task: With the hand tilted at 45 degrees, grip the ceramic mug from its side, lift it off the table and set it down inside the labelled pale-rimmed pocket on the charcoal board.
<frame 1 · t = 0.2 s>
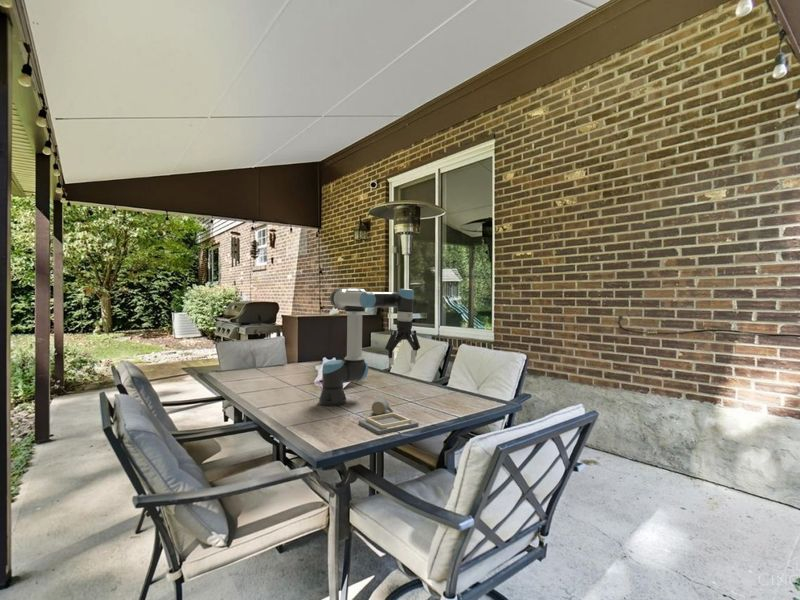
hand: (402, 364, 207), 28 cm above the table, tool pointing down, fingers open, 13 cm apart
ceramic mug: (382, 413, 219), on the table
charcoal pocket board: (388, 425, 200), on the table
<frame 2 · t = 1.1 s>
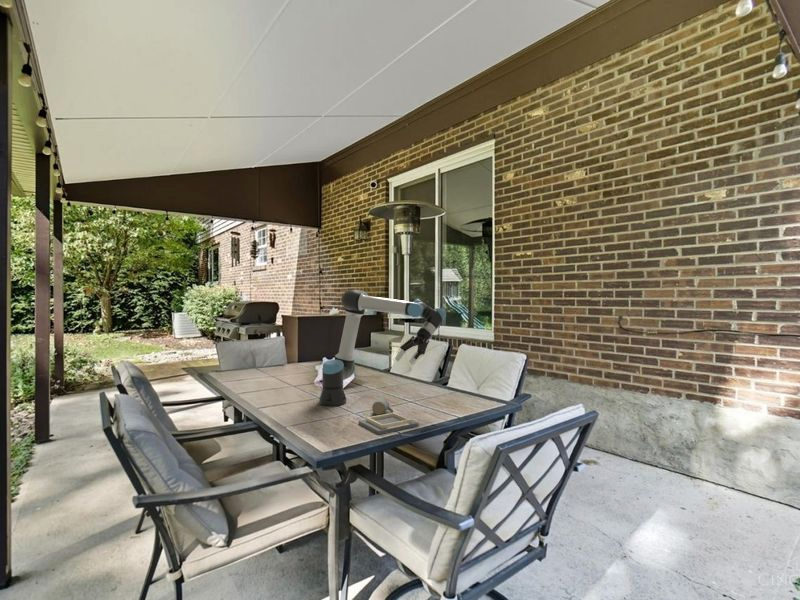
hand: (403, 361, 225), 26 cm above the table, tool tilted 45°, fingers open, 13 cm apart
nothing on the table moved.
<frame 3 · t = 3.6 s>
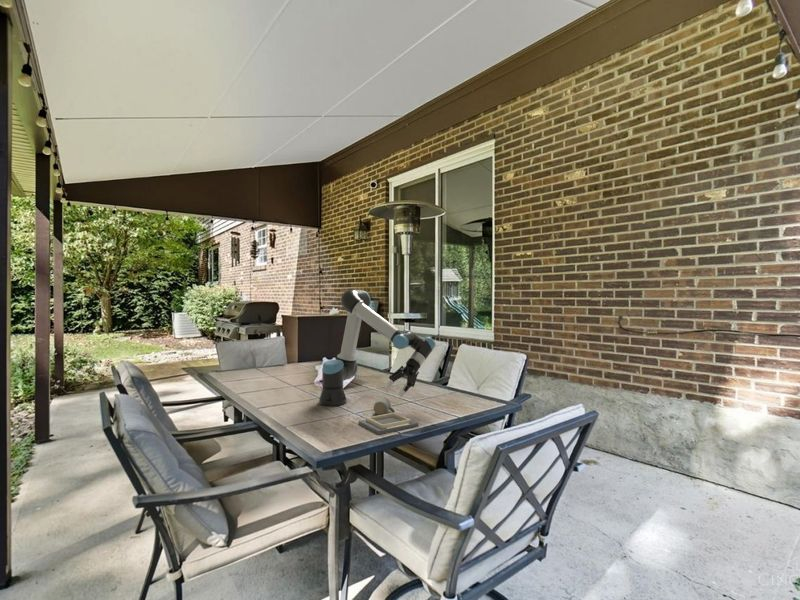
hand: (392, 393, 221), 10 cm above the table, tool tilted 45°, fingers open, 13 cm apart
nothing on the table moved.
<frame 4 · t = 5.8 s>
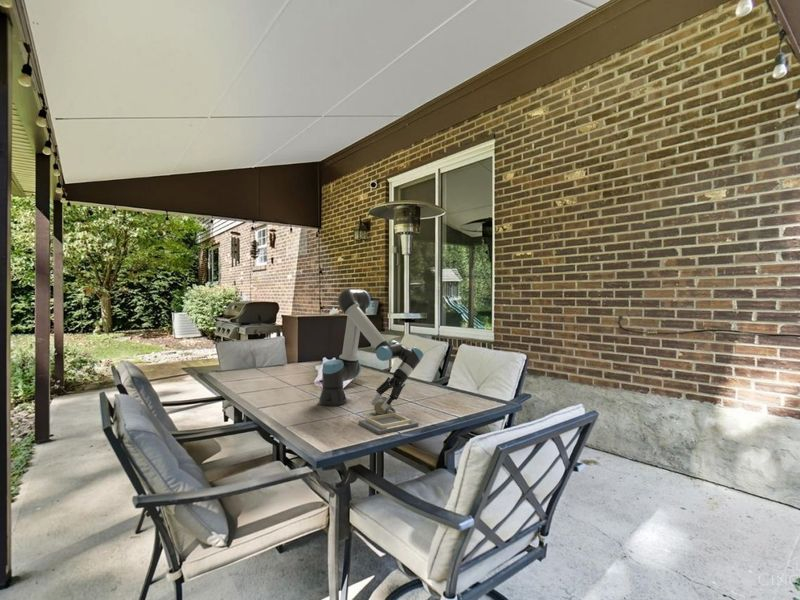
hand: (377, 406, 217), 4 cm above the table, tool tilted 45°, fingers closed on ceramic mug, 10 cm apart
ceramic mug: (385, 413, 219), on the table, touching gripper
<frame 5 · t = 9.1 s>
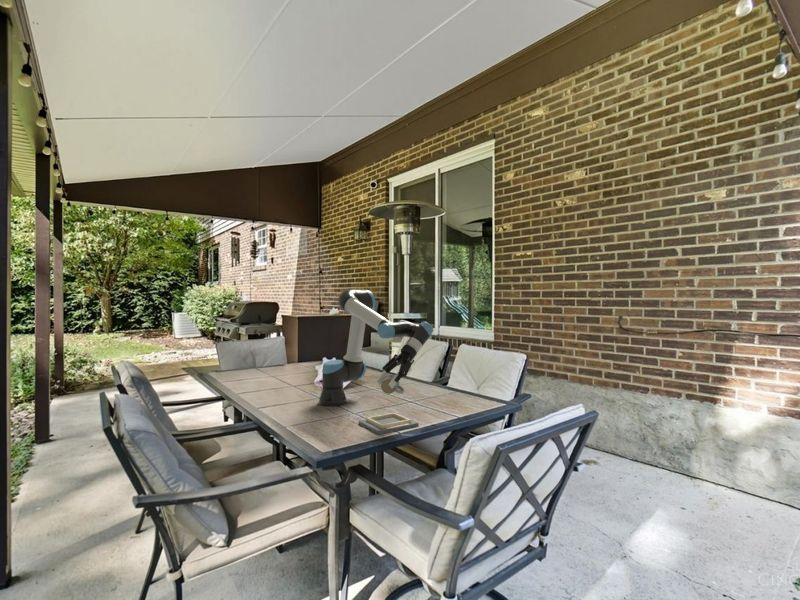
hand: (384, 384, 198), 19 cm above the table, tool tilted 45°, fingers closed on ceramic mug, 10 cm apart
ceramic mug: (392, 392, 200), point 15 cm above the table, touching gripper
when the fingers open (7 cm above the table, at t = 12.6 s): ceramic mug drops 1 cm, resting on charcoal pocket board.
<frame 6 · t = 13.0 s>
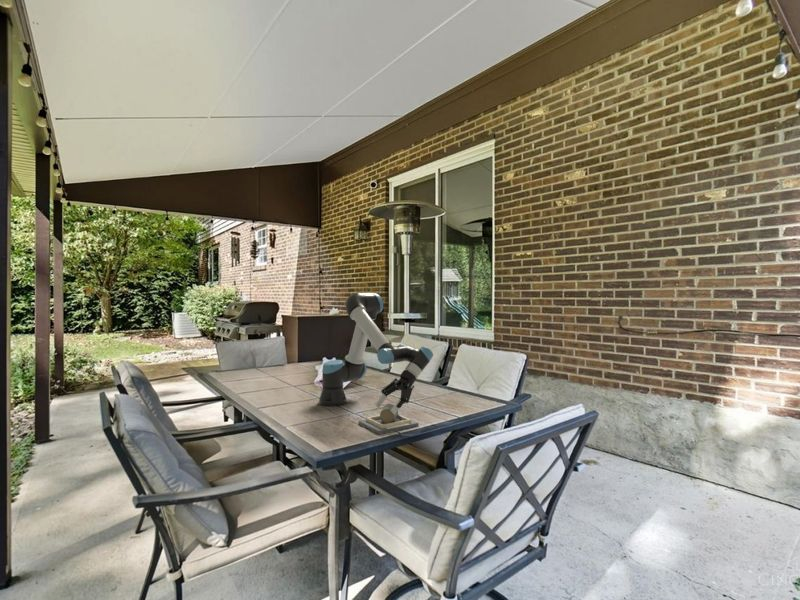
hand: (384, 409, 198), 8 cm above the table, tool tilted 45°, fingers open, 13 cm apart
ceramic mug: (391, 422, 199), point 1 cm above the table, touching charcoal pocket board
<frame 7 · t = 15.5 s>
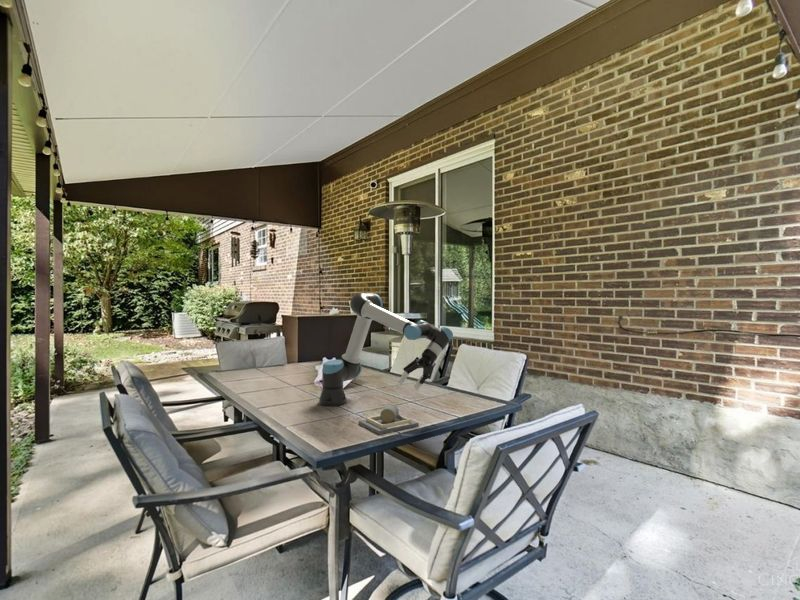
hand: (407, 385, 208), 17 cm above the table, tool tilted 45°, fingers open, 13 cm apart
nothing on the table moved.
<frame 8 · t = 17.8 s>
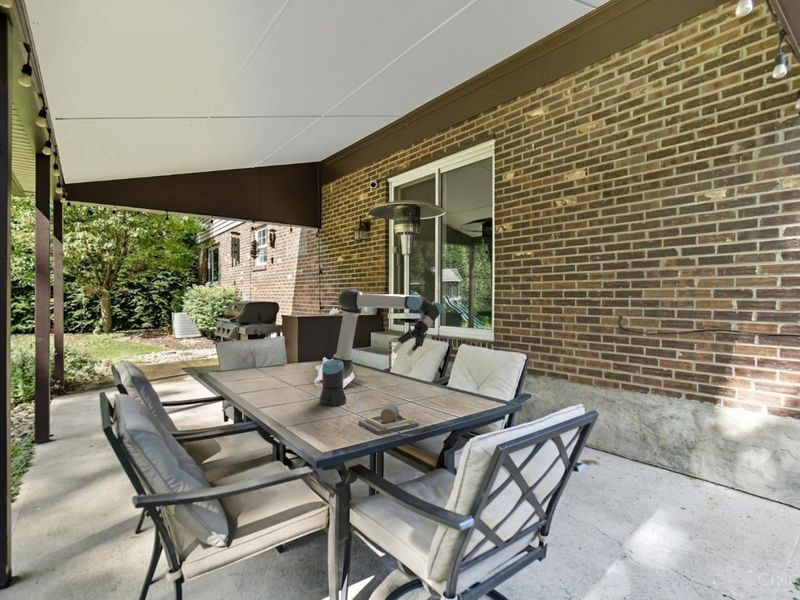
hand: (401, 353, 229), 30 cm above the table, tool tilted 45°, fingers open, 13 cm apart
nothing on the table moved.
at the end: ceramic mug 1.8 cm off-centre on the charcoal pocket board, point 1.3 cm above the charcoal pocket board's base; ceramic mug tilted 0°; the gripper is holding nothing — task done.
